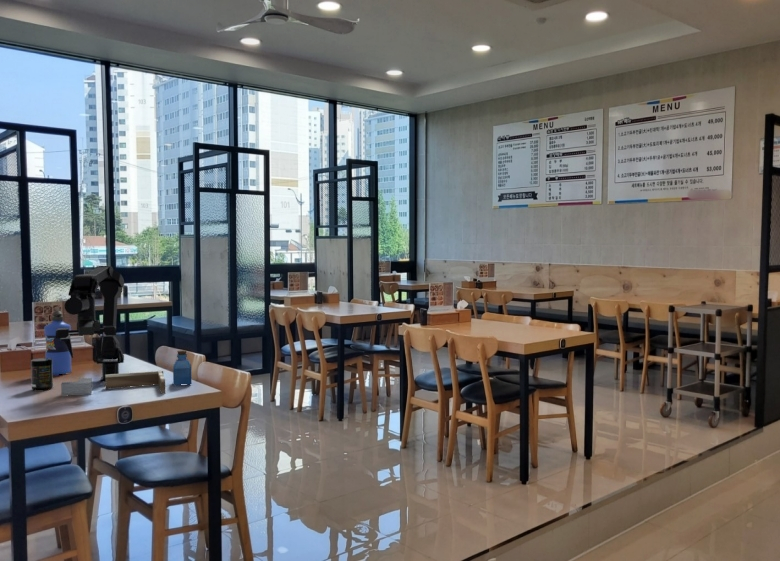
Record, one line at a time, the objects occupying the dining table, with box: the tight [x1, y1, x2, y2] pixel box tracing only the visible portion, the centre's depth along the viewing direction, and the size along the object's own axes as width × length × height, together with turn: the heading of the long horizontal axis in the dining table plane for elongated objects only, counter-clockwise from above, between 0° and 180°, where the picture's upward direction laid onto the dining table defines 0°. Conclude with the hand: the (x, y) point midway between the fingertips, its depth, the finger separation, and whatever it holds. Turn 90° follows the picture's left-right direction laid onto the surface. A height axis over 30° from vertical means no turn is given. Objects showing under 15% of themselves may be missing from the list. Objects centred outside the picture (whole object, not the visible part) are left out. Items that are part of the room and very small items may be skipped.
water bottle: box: [43, 310, 72, 376], centre depth 257 cm, size 9×9×25 cm
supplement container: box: [30, 357, 54, 391], centre depth 227 cm, size 7×7×10 cm
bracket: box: [60, 377, 93, 397], centre depth 220 cm, size 9×9×4 cm
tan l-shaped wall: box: [105, 370, 166, 394], centre depth 223 cm, size 18×19×5 cm
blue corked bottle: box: [172, 350, 192, 385], centre depth 235 cm, size 6×6×12 cm
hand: (87, 356), depth 223 cm, fingers open, 9 cm apart
